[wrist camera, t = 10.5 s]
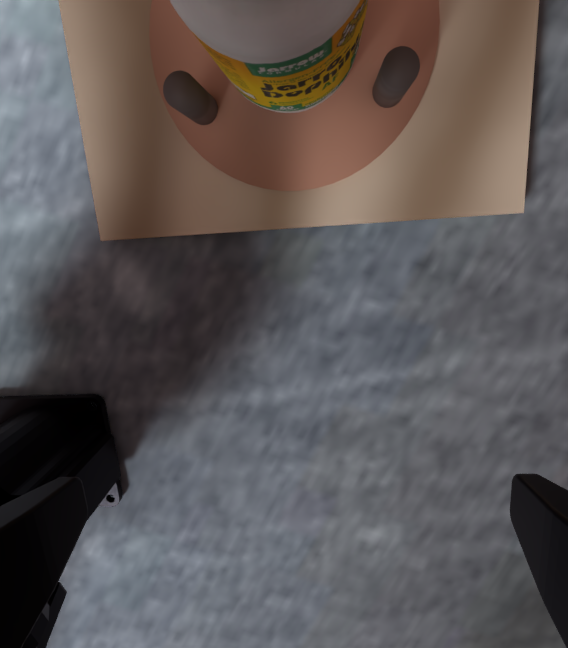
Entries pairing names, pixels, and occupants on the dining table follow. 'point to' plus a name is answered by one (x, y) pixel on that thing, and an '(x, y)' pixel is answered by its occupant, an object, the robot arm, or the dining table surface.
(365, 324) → the dining table surface
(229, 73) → the supplement bottle
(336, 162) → the pin board
